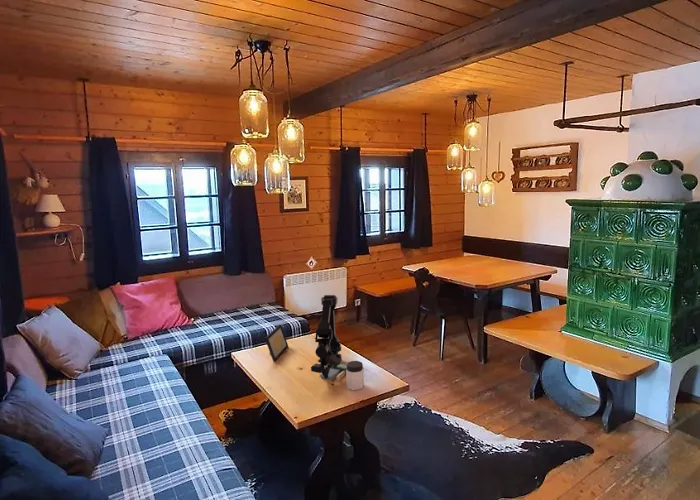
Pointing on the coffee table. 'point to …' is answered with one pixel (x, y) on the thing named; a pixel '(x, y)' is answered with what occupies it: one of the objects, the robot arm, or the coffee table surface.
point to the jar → (355, 375)
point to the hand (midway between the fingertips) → (326, 378)
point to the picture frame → (276, 343)
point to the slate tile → (332, 373)
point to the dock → (344, 368)
